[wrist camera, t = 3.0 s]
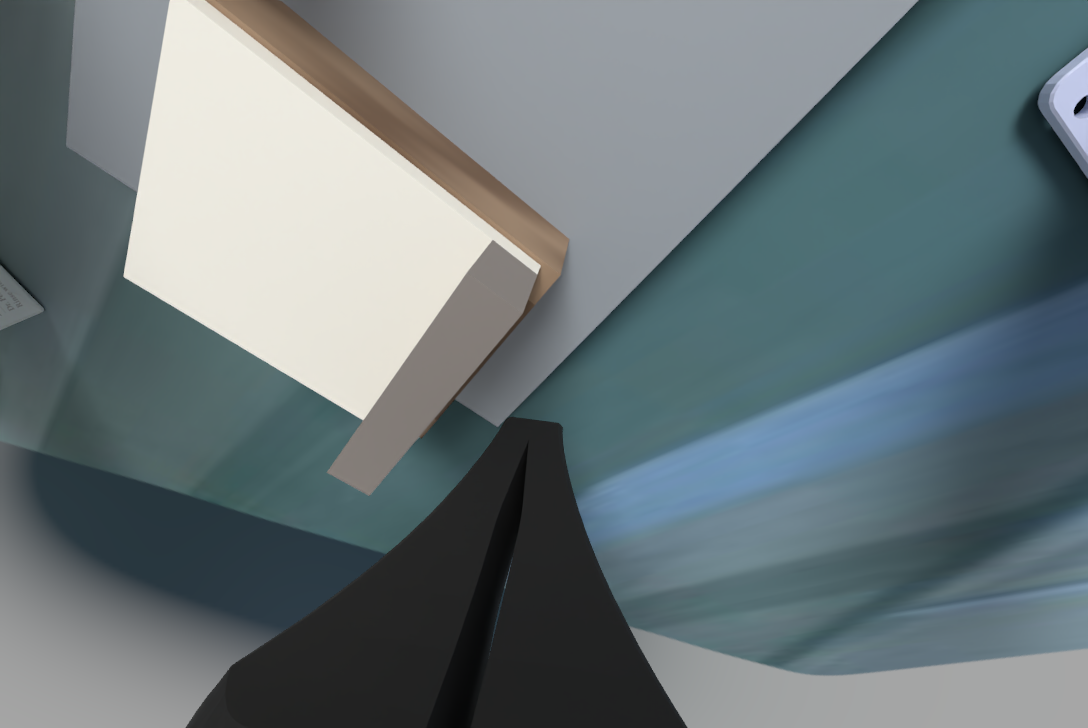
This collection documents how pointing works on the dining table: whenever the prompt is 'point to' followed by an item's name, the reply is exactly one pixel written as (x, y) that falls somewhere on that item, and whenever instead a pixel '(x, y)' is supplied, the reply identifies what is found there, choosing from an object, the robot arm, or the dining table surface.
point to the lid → (313, 241)
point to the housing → (403, 137)
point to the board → (543, 118)
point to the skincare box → (15, 301)
